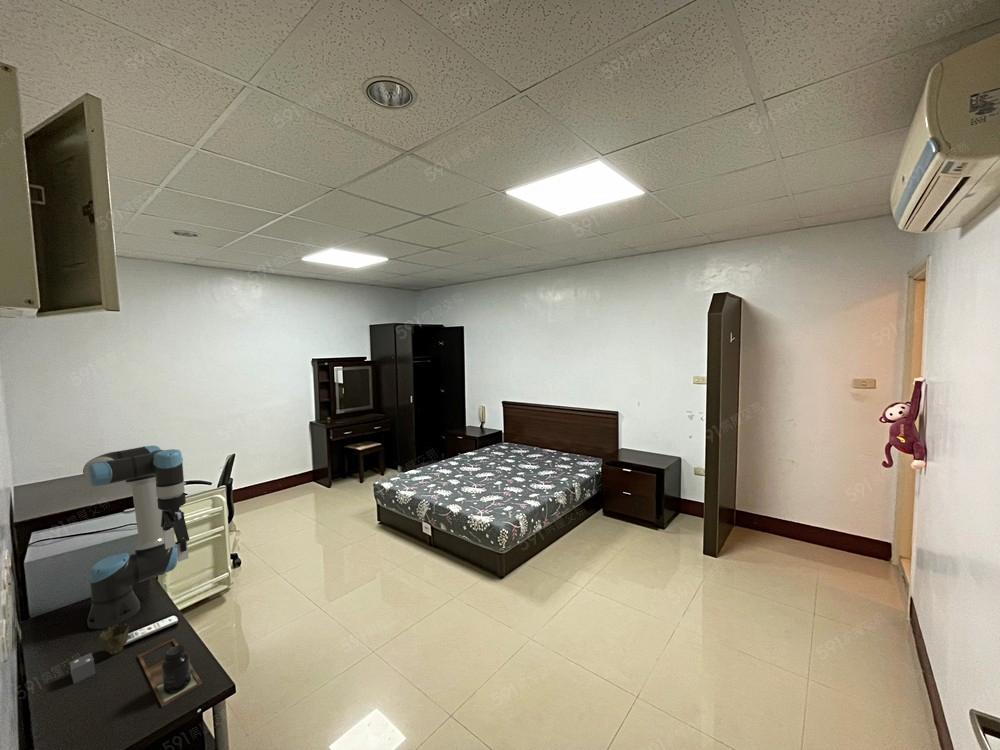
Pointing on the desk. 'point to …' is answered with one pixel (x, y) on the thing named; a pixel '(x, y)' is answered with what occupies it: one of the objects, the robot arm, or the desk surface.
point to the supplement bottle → (176, 670)
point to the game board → (157, 680)
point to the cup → (114, 638)
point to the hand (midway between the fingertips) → (176, 553)
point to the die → (82, 668)
